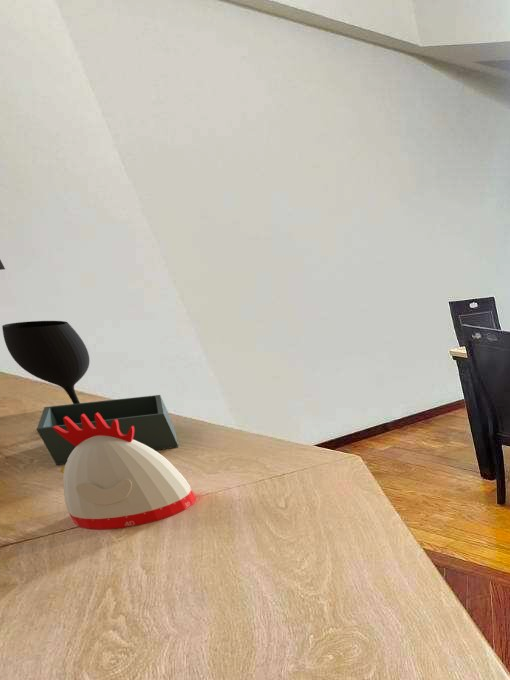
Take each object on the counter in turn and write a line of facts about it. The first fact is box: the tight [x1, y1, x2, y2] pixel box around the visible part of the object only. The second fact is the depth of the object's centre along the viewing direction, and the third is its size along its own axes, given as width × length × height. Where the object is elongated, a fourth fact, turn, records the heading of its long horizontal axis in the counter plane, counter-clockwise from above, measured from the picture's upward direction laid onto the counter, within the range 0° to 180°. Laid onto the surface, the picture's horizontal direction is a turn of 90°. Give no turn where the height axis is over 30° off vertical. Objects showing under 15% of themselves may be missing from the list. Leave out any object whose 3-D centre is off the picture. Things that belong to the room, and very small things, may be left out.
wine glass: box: [1, 320, 90, 404], centre depth 118 cm, size 10×10×20 cm
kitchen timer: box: [53, 412, 196, 530], centre depth 87 cm, size 14×14×15 cm
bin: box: [36, 394, 179, 466], centre depth 113 cm, size 17×17×7 cm
